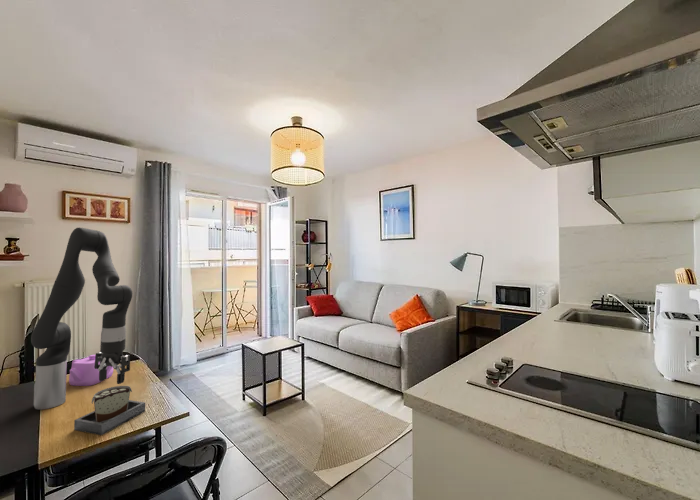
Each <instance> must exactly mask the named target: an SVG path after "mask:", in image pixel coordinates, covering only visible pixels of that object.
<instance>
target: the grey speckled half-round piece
mask: <svg viewBox="0 0 700 500" xmlns="http://www.w3.org/2000/svg"><path fill="white" fill-rule="evenodd" d="M132 392H133V391H132V387H131V386H130V385H115V386H111V387H108V388H104V389H101V390H99V391H97V392H96V393H94V395H93V397H92V399H91V404H93V406H94V411H95V417H96V422H99V423H102V422H105V421H108V420H110V419H112V418H114V417H116V416H118V415H119V414H121V413H123V412H125V411H127V410H128V403H129V400H130V393H132Z"/></svg>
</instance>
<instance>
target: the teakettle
mask: <svg viewBox="0 0 700 500" xmlns="http://www.w3.org/2000/svg"><path fill="white" fill-rule="evenodd" d="M95 355H96V354H91V355H88V356H86V357H84V358H80V359H78V358H77V359H73V360H72V362H71V368H70V369H69V377H68V383H69V385H70V386H79V387H81V386H82V387H84V386H85V387H89V386H94V385H96V384H98V383H101V382H102V381H99V371H98V369H95V368H94V366H95ZM99 364H100V362H99V363H98V365H99ZM113 373H114V368H113V367H111V366H108V367H107V377H106V380H107V379H109V378H111V377H112V376H113Z"/></svg>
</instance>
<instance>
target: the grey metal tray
mask: <svg viewBox="0 0 700 500" xmlns="http://www.w3.org/2000/svg"><path fill="white" fill-rule="evenodd" d="M144 412H146V402H144V401H138V400H131V399H129V403H128V410H127V411H125V412H123V413H121V414H119V415H118V416H116V417H114V418H112V419H110V420H108V421H105V422H102V423H99V422H96V417H95V410H93V411H90V412H89V413H87V414H85V415H82V416H81V417H78V418H76V419H74V421H73V422H74V424H73V425H74V427H73V428H74V429H73V430H74V431H78V432H82V433H89V434H93V435H96V436H97V435H98V436H103V435H105V434H107V433H108V432H111V431H112V430H114V429H116V428H118V427H119V426H122V425H123V424H125V423H127V422H128V421H130V420H132V419H134V418H135V417H136V418H137V416H139V415H142V414H143V413H144Z"/></svg>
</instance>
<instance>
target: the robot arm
mask: <svg viewBox="0 0 700 500" xmlns="http://www.w3.org/2000/svg"><path fill="white" fill-rule="evenodd" d="M67 241H68V242H67V245H66V248H65V253H64V256H63V260H62V263H61V266H60V268H59V271H58V273H57V275H56V278H55V281H54V283H53V286H52V288H51V290H50V294H49V296H48V299H47V301H46V304H45V306H44V309H43V311H42V313H41V315H40V317H39V319H38V321H37V322H36V324H35V326H34V328H33V329H32V333H31V334H30V335H31V336H30V342H31V345H32V347H33V348H35V349H37V350H43V349H44V352H43V353H42V354H40V355H39V356H37V358H36V361H35V382H34V385H33V407H34V409H35V410H47V409H51V408H56V407H58V406H60V405H62V404H64V403H66V398H67V393H66V392H67V371H68V370H67V369H68V368H67V367H68V364H67V363H68V356H69V354H70V351H71V342H72V331H71V327H70V326H69V324H67V323H66V322H62V321H61V320H62V318H63V317H64V315H65V314H66V313H67V312H68V311H69V310H70V309H71V308H72V306H74V305H75V303H76V302H77V301H78V300H79V298H80V297H81V295H82V292H83V289H84V287H85V283H86V280H85V277H84V274H83V271H82V269H81V267H80V262H79V261H80V254H81V251H83V252H90V253H95V254H96V256H97V258H96V260H95V261H94V262H93V265H92V269H91V270H92V275H93V278H94V279H95V281H96V285H97V297H96V298H97V301H98V303H99V304H100V305H103V306H112V305H116V306H115V308H113V309H111V310H107V311H105V312H104V313H102V324H101V325H102V326H101V331H100V346H99V348H100V350H99V351H98V352H95V354H94V355H95V366H94V368H95V369H98V371H99V381H101V382H103V381H106V380H107V379H106V377H107V367H108V366H111V367H113V370H115V371H116V373H117V374H116V384H117V385H121V384H123V383H124V382H125V380H126V379H125V378H126V376H125V375H126V373H127V372H130V371H131V355H130V354H126V355H124V351H125V350H126V342H127V341H126V338H127V334H126V333H127V331H126V330H127V329H126V322H127V321H126V320H127V318H126V317H127V313H128V310H129V306H130V304H131V302H132V300H133V290H132V287H130V286H129V285H125V284H123V285H119V282H120V276H119V273H118V271H117V270H116V268H115V266H114V264H113V259H112V255H111V250H110V246H109V245H110V244H109V241H108V238H107V235H106V234H105V233H104V232H103V231H100V230H95V229H89V228H86V227H76V228H75V229H73V230H72V232H71V233H70V236H69V238H68V240H67ZM99 362H100V364H99V365H98V363H99Z"/></svg>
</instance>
